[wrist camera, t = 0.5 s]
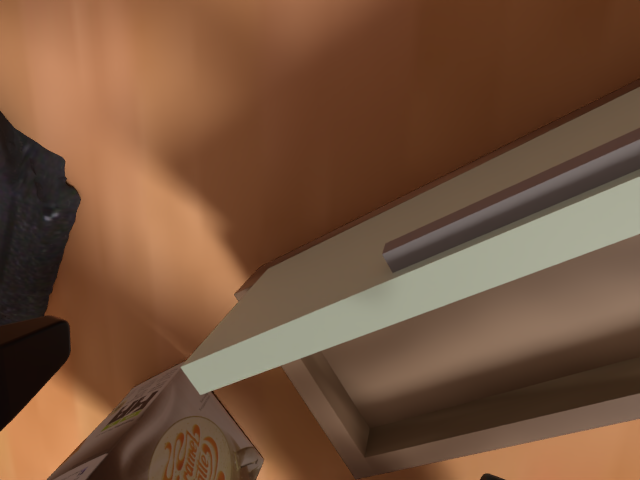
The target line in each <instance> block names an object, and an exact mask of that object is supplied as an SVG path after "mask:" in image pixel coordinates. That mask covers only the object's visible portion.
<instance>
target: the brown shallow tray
mask: <svg viewBox="0 0 640 480" xmlns="http://www.w3.org/2000/svg"><path fill="white" fill-rule="evenodd" d="M638 87H640V79H638V80H636V81H634V82H632V83H630V84H628V85H626V86H624V87H622V88H620V89H618V90H616V91H614V92H612V93H610V94H608V95H606V96H604V97H602V98H600V99H598V100H596V101H594V102H592V103H590V104H588V105H586V106H584V107H582V108H580V109H578V110H576V111H574V112H572V113H570V114H568V115H566V116H564V117H562V118H560V119H558V120H556V121H554V122H552V123H550V124H548V125H546V126H544V127H542V128H540V129H538V130H536V131H534V132H532V133H530V134H528V135H526V136H524V137H522V138H519V139H517V140H515V141H513V142H511V143H509V144H507V145H505V146H503V147H501V148H499V149H497V150H495V151H493V152H491V153H489V154H487V155H485V156H483V157H481V158H479V159H477V160H475V161H473V162H471V163H469V164H467V165H465V166H463V167H461V168H459V169H457V170H455V171H453V172H451V173H449V174H447V175H445V176H443V177H441V178H439V179H437V180H435V181H433V182H431V183H429V184H427V185H425V186H423V187H421V188H419V189H417V190H415V191H413V192H411V193H409V194H407V195H405V196H403V197H400V198H398V199H396V200H394V201H392V202H390V203H388V204H386V205H384V206H382V207H380V208H378V209H376V210H374V211H372V212H370V213H368V214H366V215H364V216H362V217H360V218H358V219H356V220H354V221H352V222H350V223H348V224H346V225H344V226H342V227H340V228H338V229H336V230H334V231H332V232H330V233H328V234H326V235H324V236H322V237H320V238H318V239H316V240H314V241H312V242H310V243H308V244H306V245H304V246H302V247H300V248H298V249H296V250H294V251H292V252H290V253H288V254H286V255H284V256H281V257H279V258H277V259H275V260H273V261H271V262H269V263H267V264H265V265H263V266H261V267H259V268H258V270H257V271H256V272H255V273H254V274H253V275H252V276H251V277H250V278H249V279H248V280H247V281H246V282H245V283H244V284H243V285H242V286H241V288H240V289H239V290H238V291H237V292H236V293H235V294H234V295H235V297H236V298H237V300H238V301H240V300H241V298H242V297H243V296H244V295H245V294H246V293H247V292H248V291H249V289H250V288H251V287H252V286H253V285H254V284H255V283H256V282H257V280H258V279H259V278H260V277H261V276H262V275H263V274H264V273H265V271H266V270H267V269H268V268H270V267H272V266H275V265H277V264H279V263H281V262H283V261H285V260H287V259H289V258H291V257H293V256H295V255H297V254H299V253H301V252H303V251H305V250H307V249H309V248H311V247H313V246H315V245H317V244H319V243H322V242H324V241H326V240H328V239H330V238H332V237H334V236H336V235H338V234H340V233H342V232H344V231H346V230H348V229H350V228H352V227H354V226H356V225H358V224H360V223H362V222H364V221H366V220H369V219H371V218H373V217H375V216H377V215H379V214H381V213H383V212H385V211H387V210H389V209H391V208H393V207H395V206H397V205H399V204H401V203H403V202H405V201H407V200H409V199H411V198H414V197H416V196H418V195H420V194H422V193H424V192H426V191H428V190H430V189H432V188H434V187H436V186H438V185H440V184H442V183H444V182H446V181H448V180H450V179H452V178H454V177H456V176H458V175H461V174H463V173H465V172H467V171H469V170H471V169H473V168H475V167H477V166H479V165H481V164H483V163H485V162H487V161H489V160H491V159H493V158H495V157H497V156H499V155H501V154H503V153H505V152H508V151H510V150H512V149H514V148H516V147H518V146H520V145H522V144H524V143H526V142H528V141H530V140H532V139H534V138H536V137H538V136H540V135H542V134H544V133H546V132H548V131H550V130H553V129H555V128H557V127H559V126H561V125H563V124H565V123H567V122H569V121H571V120H573V119H575V118H577V117H579V116H581V115H583V114H585V113H587V112H589V111H591V110H593V109H595V108H597V107H600V106H602V105H604V104H606V103H608V102H610V101H612V100H614V99H616V98H618V97H620V96H622V95H624V94H626V93H628V92H630V91H632V90H634V89H636V88H638ZM281 367H282V368H283V370H284V371H285V373H286V374H287V376H288V377H289V379H290V380H291V382H292V383H293V385H294V387H295V388H296V390H297V391H298V393H299V394H300V396H301V397H302V399H303V400H304V402H305V403H306V405H307V406H308V408H309V409H310V411H311V412H312V414H313V415H314V417H315V418H316V420H317V421H318V423H319V425H320V426H321V428H322V429H323V431H324V432H325V434H326V435H327V437H328V438H329V440H330V441H331V443H332V444H333V446H334V447H335V449H336V450H337V452H338V453H339V455H340V456H341V458H342V459H343V461H344V463H345V464H346V466H347V467H348V469H349V470H350V472H351V473H352V475H353V476H354V478H355V479H360V478H365V477H370V476H374V475H379V474H384V473H388V472H393V471H398V470H402V469H407V468H412V467H416V466H421V465H426V464H430V463H435V462H440V461H444V460H449V459H454V458H458V457H463V456H468V455H472V454H477V453H482V452H486V451H491V450H496V449H500V448H505V447H510V446H514V445H519V444H524V443H528V442H533V441H538V440H542V439H547V438H552V437H557V436H561V435H566V434H571V433H575V432H580V431H585V430H589V429H594V428H599V427H603V426H608V425H613V424H617V423H622V422H627V421H631V420H636V419H640V234H638V235H635V236H632V237H630V238H627V239H624V240H622V241H619V242H616V243H613V244H611V245H608V246H605V247H602V248H600V249H597V250H594V251H592V252H589V253H586V254H583V255H581V256H578V257H575V258H573V259H570V260H567V261H564V262H562V263H559V264H556V265H553V266H551V267H548V268H545V269H543V270H540V271H537V272H534V273H532V274H529V275H526V276H524V277H521V278H518V279H515V280H513V281H510V282H507V283H504V284H502V285H499V286H496V287H494V288H491V289H488V290H485V291H483V292H480V293H477V294H475V295H472V296H469V297H466V298H464V299H461V300H458V301H455V302H453V303H450V304H447V305H445V306H442V307H439V308H436V309H434V310H431V311H428V312H426V313H423V314H420V315H417V316H415V317H412V318H409V319H406V320H404V321H401V322H398V323H396V324H393V325H390V326H387V327H385V328H382V329H379V330H377V331H374V332H371V333H368V334H366V335H363V336H360V337H357V338H355V339H352V340H349V341H347V342H344V343H341V344H338V345H336V346H333V347H330V348H328V349H325V350H322V351H319V352H317V353H314V354H311V355H308V356H306V357H303V358H300V359H298V360H295V361H292V362H289V363H287V364H284V365H281Z"/></svg>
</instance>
